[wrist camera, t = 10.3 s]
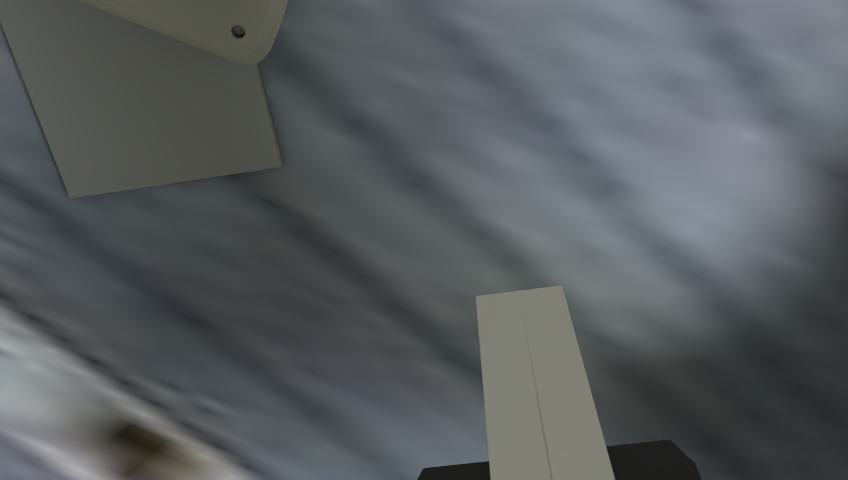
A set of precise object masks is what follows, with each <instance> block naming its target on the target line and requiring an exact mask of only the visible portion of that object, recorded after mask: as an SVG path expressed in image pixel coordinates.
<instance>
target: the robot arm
mask: <svg viewBox="0 0 848 480" xmlns="http://www.w3.org/2000/svg"><path fill="white" fill-rule="evenodd" d="M476 306H477V318H478V330H479V342H480V355H481V367H482V379H483V392H484V404H485V416H486V428H487V441H488V453H489V461H487V462H478V463H468V464H459V465H450V466H440V467H431V468H423V470H422V472H421V474H420V476H419V477H418V479H417V480H701V477H700V475H699V472H698V470H697V468H696V465H695V463H694V462H693V461H692V460H691V459H689V458H688V457H687V456H686V455H685V454H684V453H683V452H682V451H681V450H680V449H679V448H678V447H677V446H676V445H675V444H674V443H673V442H671V441H670V440H663V441H653V442H644V443H635V444H625V445H616V446H607V447H606V444H605V441H604V437H603V434H602V430H601V426H600V423H599V419H598V415H597V412H596V408H595V404H594V401H593V397H592V393H591V390H590V386H589V382H588V379H587V375H586V371H585V368H584V364H583V360H582V357H581V353H580V350H579V346H578V342H577V339H576V335H575V331H574V328H573V324H572V320H571V317H570V313H569V309H568V306H567V302H566V298H565V295H564V291H563V287H562V285H561V286H553V287H545V288H537V289H528V290H520V291H512V292H504V293H496V294H488V295H480V296H476Z"/></svg>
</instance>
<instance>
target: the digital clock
mask: <svg viewBox="0 0 848 480" xmlns="http://www.w3.org/2000/svg"><path fill="white" fill-rule="evenodd" d="M79 1H81V2H84V3H86V4H89V5H91V6H94V7H96V8H99V9H101V10H104V11H107V12H109V13H112V14H114V15H117V16H119V17H122V18H124V19H127V20H129V21H132V22H134V23H137V24H139V25H142V26H145V27H147V28H150V29H152V30H155V31H157V32H160V33H162V34H165V35H167V36H170V37H172V38H175V39H177V40H180V41H183V42H185V43H188V44H190V45H193V46H195V47H198V48H200V49H203V50H205V51H208V52H210V53H213V54H215V55H218V56H221V57H223V58H226V59H229V60H231V61H234V62H237V63H242V64H248V65H253V64H257V63H259V62H261V61H262V60H263V59H264V58H265V57H266V56H267V55H268V53H269V52H270V50H271V48H272V46H273V44H274V41H275V39H276V36H277V33H278V30H279V27H280V25H281V22H282V19H283V16H284V13H285V10H286V7H287V4H288V2H289V0H79Z"/></svg>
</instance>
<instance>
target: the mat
mask: <svg viewBox="0 0 848 480" xmlns="http://www.w3.org/2000/svg"><path fill="white" fill-rule="evenodd" d="M0 22H1V25H2V27H3V30H4V32H5V35H6V38H7V40H8V43H9V45H10V48H11V50H12V53H13V55H14V58H15V60H16V63H17V65H18V68H19V70H20V73H21V76H22V78H23V81H24V83H25V86H26V88H27V91H28V93H29V96H30V98H31V101H32V103H33V106H34V109H35V111H36V114H37V116H38V119H39V121H40V124H41V126H42V129H43V131H44V134H45V136H46V139H47V142H48V144H49V147H50V149H51V152H52V154H53V157H54V159H55V162H56V164H57V167H58V169H59V172H60V175H61V177H62V180H63V182H64V185H65V187H66V190H67V192H68V195H69V197H70V199H73V198H79V197H86V196H93V195H99V194H106V193H113V192H119V191H126V190H133V189H139V188H146V187H153V186H159V185H166V184H172V183H179V182H186V181H192V180H199V179H206V178H212V177H219V176H226V175H232V174H239V173H246V172H252V171H259V170H266V169H272V168H279V167H282V166H283V161H282V157H281V153H280V149H279V145H278V141H277V137H276V133H275V130H274V126H273V122H272V118H271V114H270V110H269V106H268V102H267V98H266V94H265V90H264V87H263V83H262V79H261V75H260V71H259V67H258V63H257V64H253V65H248V64H242V63H237V62H234V61H231V60H229V59H226V58H223V57H221V56H218V55H215V54H213V53H210V52H208V51H205V50H203V49H200V48H198V47H195V46H193V45H190V44H188V43H185V42H183V41H180V40H177V39H175V38H172V37H170V36H167V35H165V34H162V33H160V32H157V31H155V30H152V29H150V28H147V27H145V26H142V25H139V24H137V23H134V22H132V21H129V20H127V19H124V18H122V17H119V16H117V15H114V14H112V13H109V12H107V11H104V10H101V9H99V8H96V7H94V6H91V5H89V4H86V3H84V2H81V1H79V0H0Z"/></svg>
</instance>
